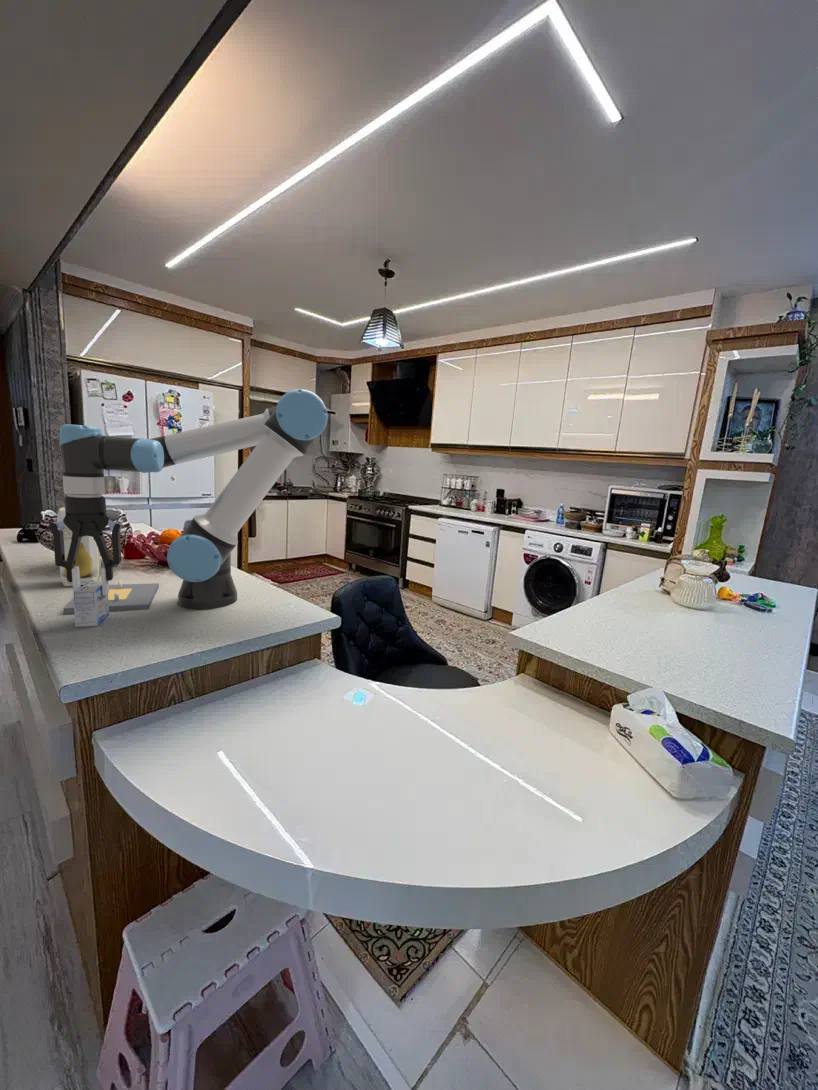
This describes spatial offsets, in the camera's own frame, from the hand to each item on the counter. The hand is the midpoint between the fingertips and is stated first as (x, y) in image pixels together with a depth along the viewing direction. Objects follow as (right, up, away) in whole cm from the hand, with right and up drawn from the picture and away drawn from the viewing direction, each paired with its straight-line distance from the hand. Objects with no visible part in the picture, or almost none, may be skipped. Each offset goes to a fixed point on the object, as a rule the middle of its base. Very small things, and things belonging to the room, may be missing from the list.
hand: (91, 594), depth 103 cm
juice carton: (-23, 0, +28) cm, 36 cm away
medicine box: (-1, -7, +1) cm, 7 cm away
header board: (-5, -3, +16) cm, 17 cm away
